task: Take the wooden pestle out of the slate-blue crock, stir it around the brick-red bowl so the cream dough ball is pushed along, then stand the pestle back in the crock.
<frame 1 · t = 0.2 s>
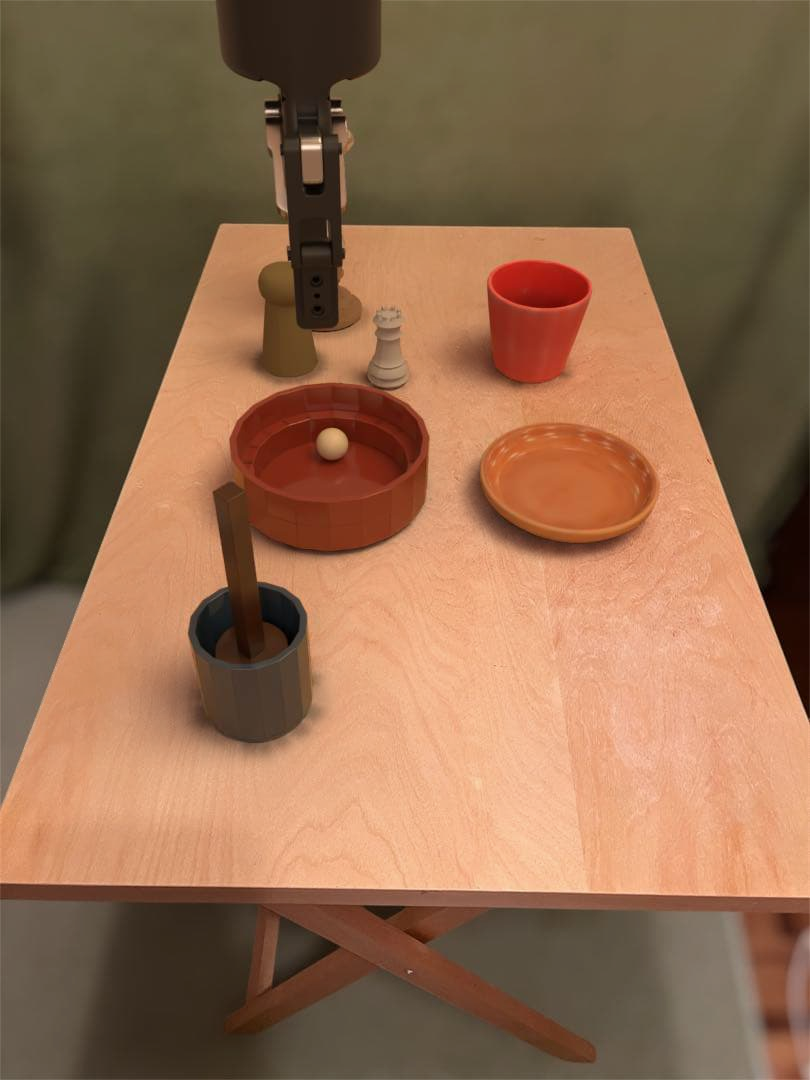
hand: (313, 287, 51), 29 cm above the table, tool pointing down, fingers open, 8 cm apart
saucer: (564, 499, 84), on the table
candle holder: (324, 314, 107), on the table
dough ball: (332, 444, 85), point 2 cm above the table, touching bowl
crock: (258, 697, 66), on the table
flower pot: (529, 365, 100), on the table
rook chess piece: (388, 380, 97), on the table
bowl: (332, 490, 83), on the table
wooden pestle: (258, 693, 66), resting on crock
brown peg figure: (289, 363, 99), on the table
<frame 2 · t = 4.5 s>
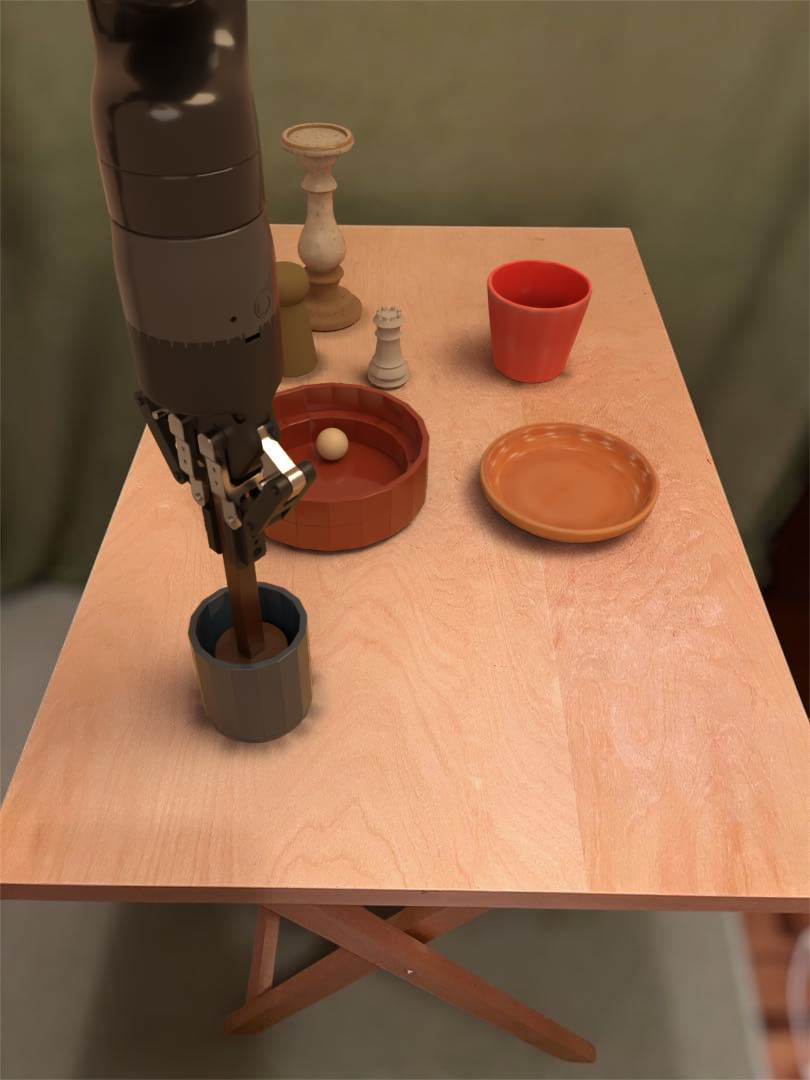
hand: (237, 552, 56), 15 cm above the table, tool pointing down, fingers closed on wooden pestle
wooden pestle: (257, 693, 66), point 1 cm above the table, touching crock, gripper
everything else where it was.
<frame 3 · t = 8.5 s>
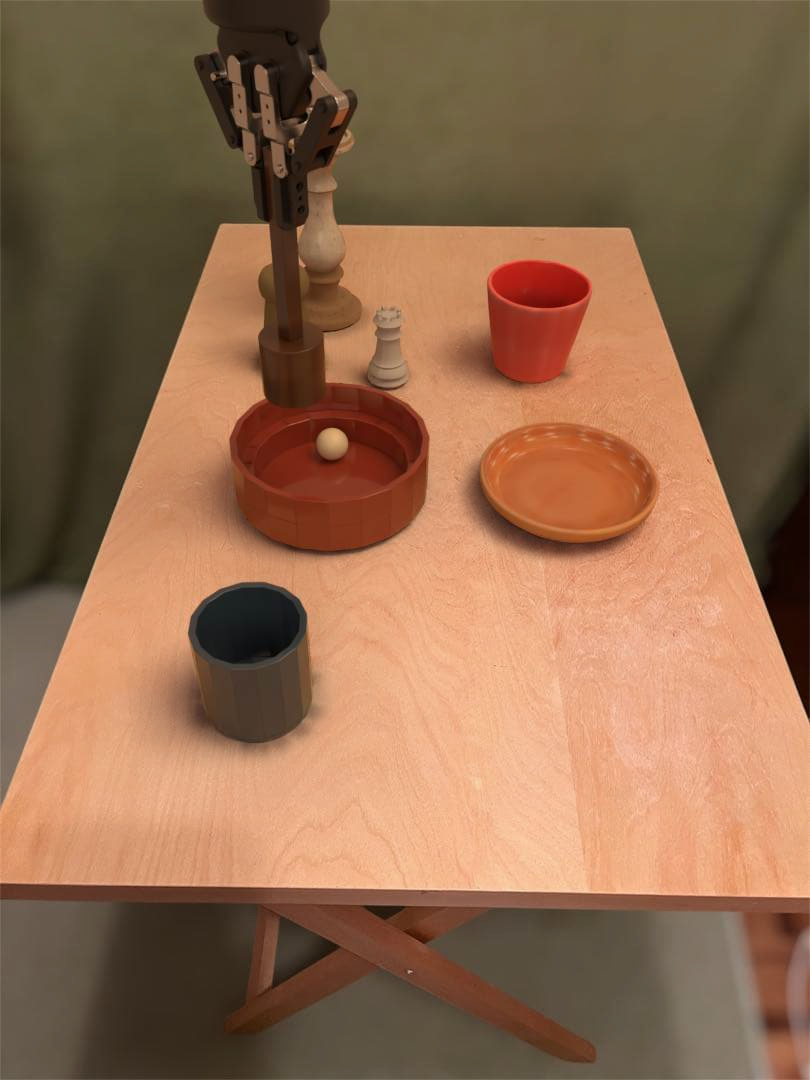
hand: (282, 221, 63), 26 cm above the table, tool pointing down, fingers closed on wooden pestle
wooden pestle: (294, 390, 73), point 12 cm above the table, touching gripper
everything else where it was.
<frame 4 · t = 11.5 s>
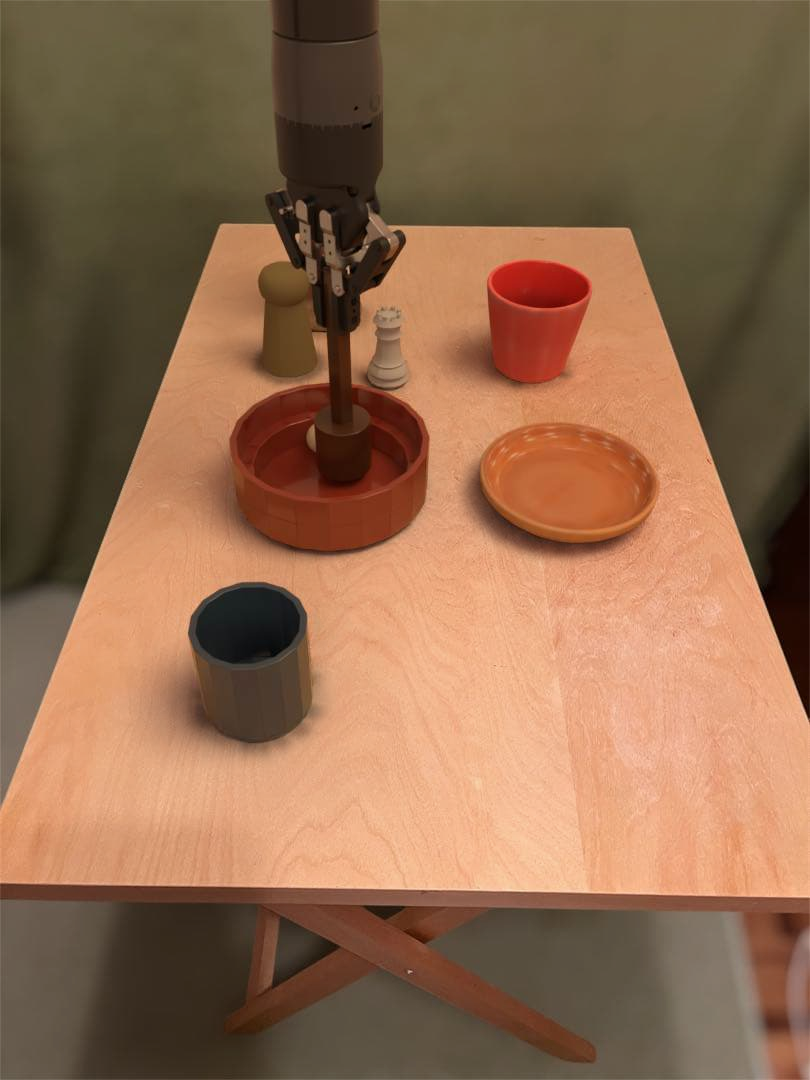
hand: (337, 327, 74), 16 cm above the table, tool pointing down, fingers closed on wooden pestle
dough ball: (322, 437, 86), point 2 cm above the table, tilted 44°, touching bowl, wooden pestle
wooden pestle: (344, 464, 84), point 2 cm above the table, touching dough ball, gripper
everything else where it was.
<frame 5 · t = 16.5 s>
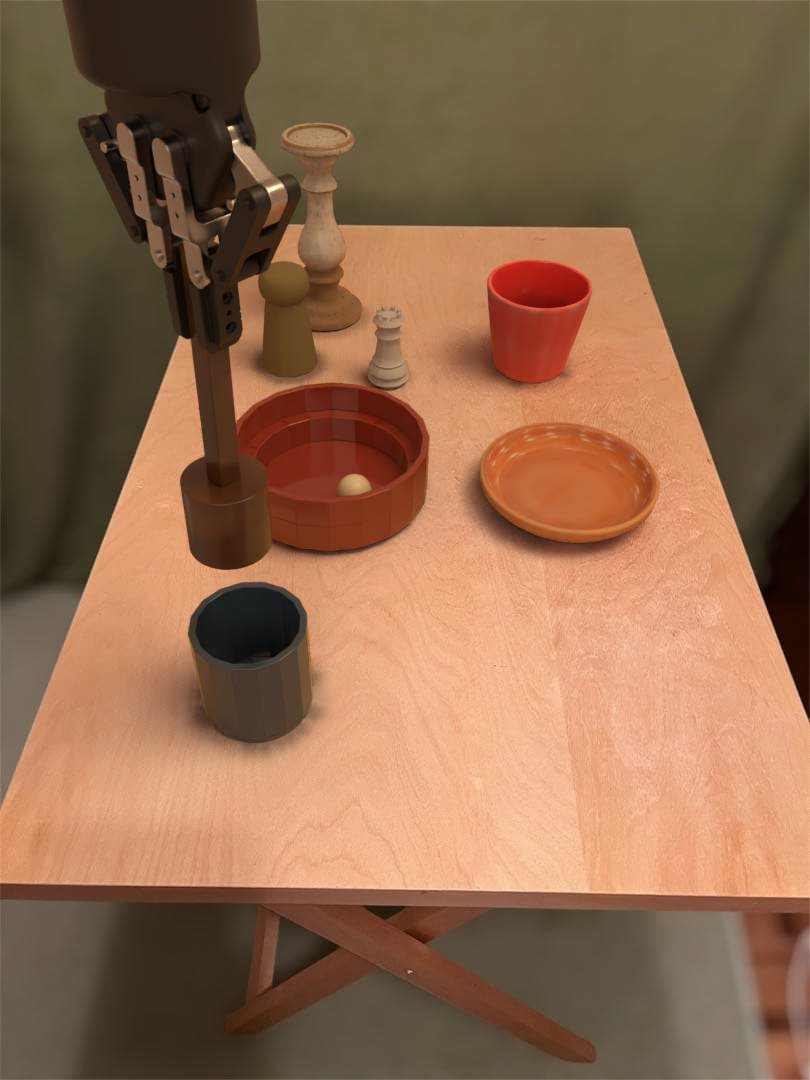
hand: (208, 337, 47), 29 cm above the table, tool pointing down, fingers closed on wooden pestle
dough ball: (354, 491, 80), point 2 cm above the table, tilted 106°, touching bowl
wooden pestle: (230, 542, 56), point 15 cm above the table, touching gripper
everything else where it was.
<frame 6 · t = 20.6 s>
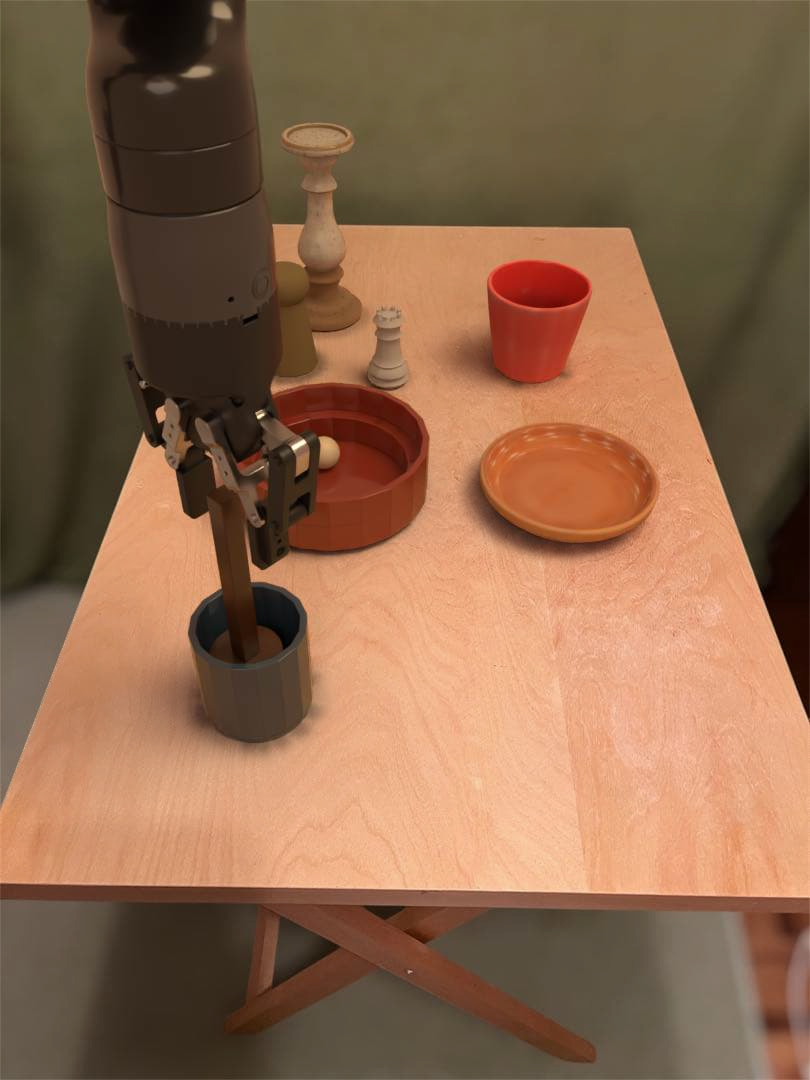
hand: (235, 534, 55), 16 cm above the table, tool pointing down, fingers open, 6 cm apart
dough ball: (323, 452, 84), point 2 cm above the table, tilted 44°, touching bowl
wooden pestle: (253, 696, 66), resting on crock
everything else where it was.
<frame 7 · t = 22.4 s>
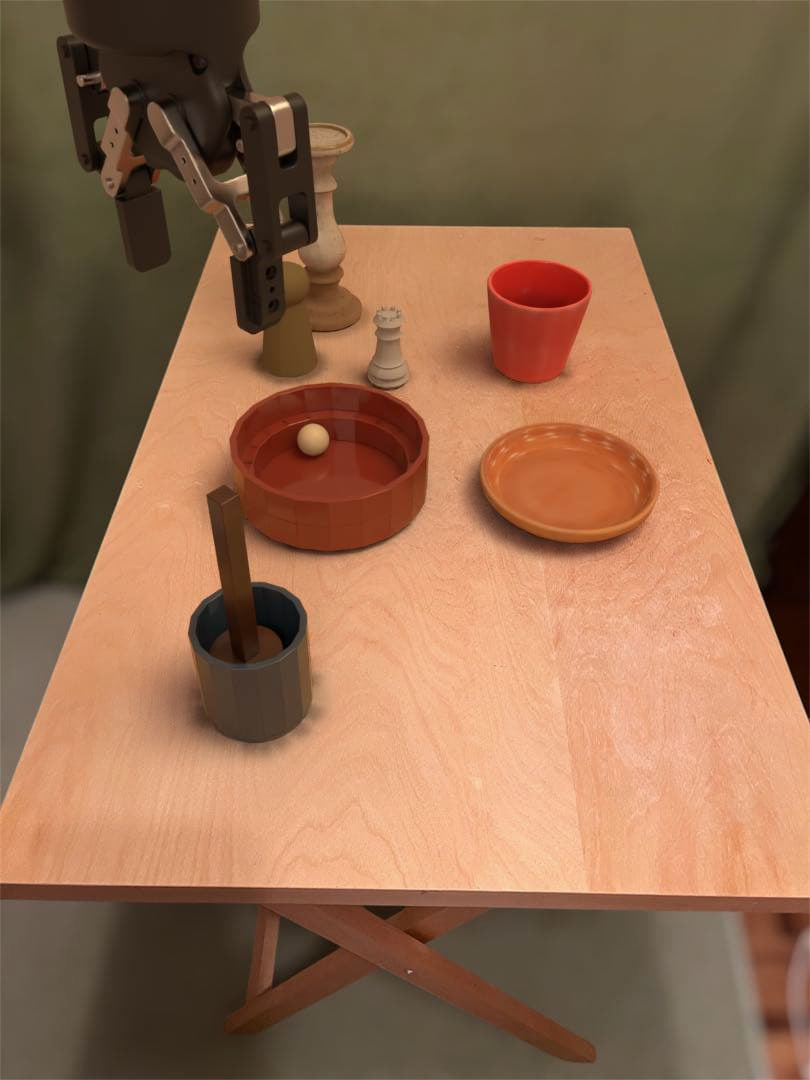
hand: (203, 295, 44), 32 cm above the table, tool pointing down, fingers open, 8 cm apart
dough ball: (313, 439, 86), point 2 cm above the table, tilted 80°, touching bowl
everything else where it was.
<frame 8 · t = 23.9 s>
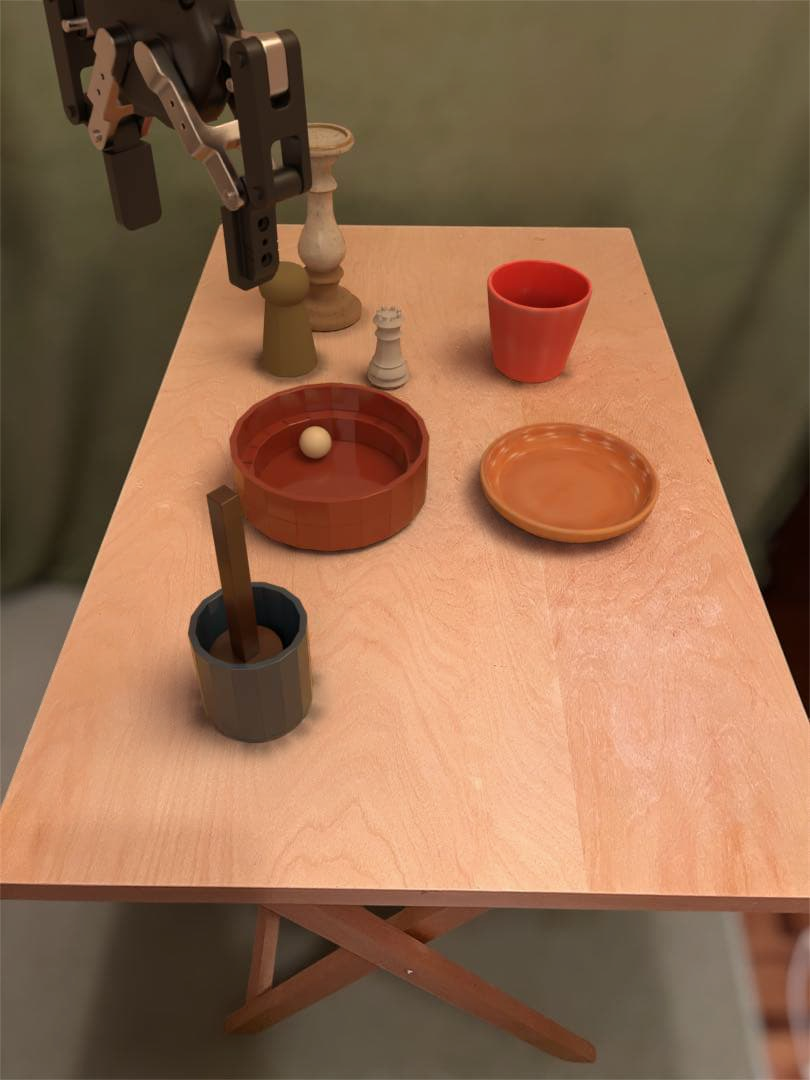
hand: (195, 252, 43), 34 cm above the table, tool pointing down, fingers open, 8 cm apart
dough ball: (315, 442, 85), point 2 cm above the table, tilted 67°, touching bowl
everything else where it was.
at the end: dough ball moved 1.6 cm from its start; dough ball 4.7 cm from the bowl (horizontally); wooden pestle 0.5 cm off-centre in the crock, point 0.5 cm above the crock's base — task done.
